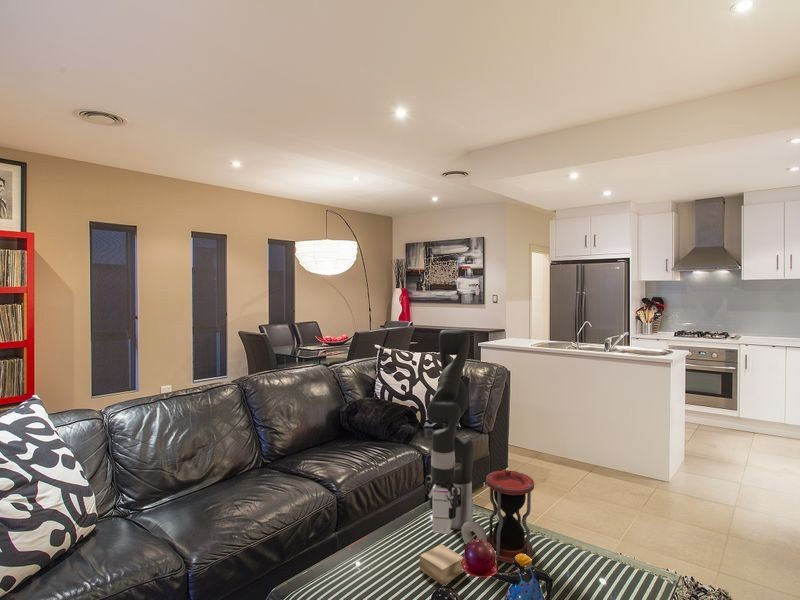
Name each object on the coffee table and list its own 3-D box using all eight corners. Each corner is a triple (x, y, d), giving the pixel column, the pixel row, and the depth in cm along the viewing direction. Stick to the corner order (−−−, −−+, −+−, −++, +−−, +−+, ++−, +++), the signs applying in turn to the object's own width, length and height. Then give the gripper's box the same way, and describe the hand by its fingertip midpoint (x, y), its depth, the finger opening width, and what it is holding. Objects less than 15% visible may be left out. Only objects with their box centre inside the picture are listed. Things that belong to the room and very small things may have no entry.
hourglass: (541, 549, 166) (542, 478, 165) (518, 570, 154) (520, 494, 153) (500, 532, 177) (501, 466, 176) (476, 550, 165) (477, 479, 164)
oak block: (441, 558, 161) (441, 544, 161) (463, 572, 154) (464, 557, 153) (419, 570, 154) (419, 555, 154) (442, 585, 147) (442, 569, 147)
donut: (459, 546, 168) (459, 518, 168) (464, 542, 171) (465, 514, 170) (483, 557, 161) (483, 528, 161) (488, 553, 164) (489, 524, 163)
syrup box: (450, 534, 150) (451, 489, 149) (431, 532, 151) (432, 487, 150) (452, 525, 155) (452, 481, 155) (434, 523, 157) (434, 480, 156)
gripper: (467, 467, 149) (467, 518, 150) (435, 454, 160) (434, 501, 161) (451, 473, 144) (450, 526, 145) (419, 459, 155) (418, 508, 156)
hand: (442, 513), depth 153 cm, fingers closed on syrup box, 7 cm apart
